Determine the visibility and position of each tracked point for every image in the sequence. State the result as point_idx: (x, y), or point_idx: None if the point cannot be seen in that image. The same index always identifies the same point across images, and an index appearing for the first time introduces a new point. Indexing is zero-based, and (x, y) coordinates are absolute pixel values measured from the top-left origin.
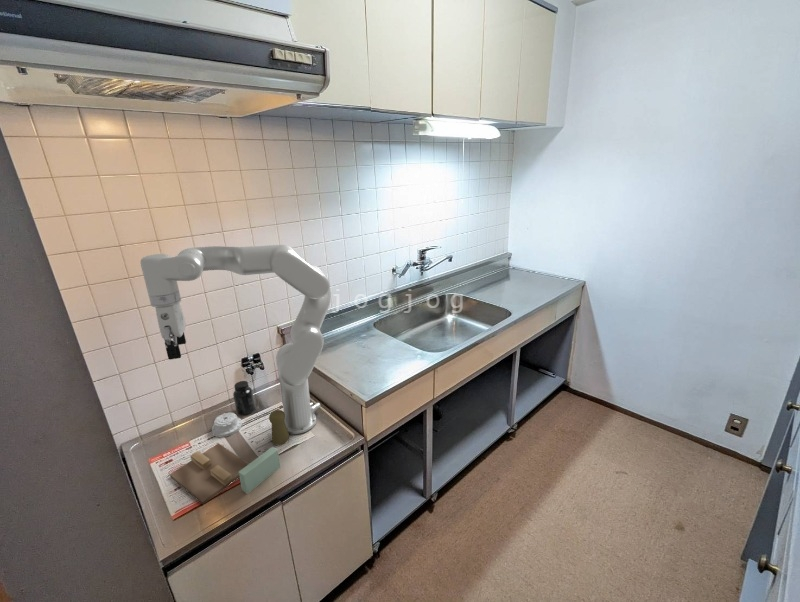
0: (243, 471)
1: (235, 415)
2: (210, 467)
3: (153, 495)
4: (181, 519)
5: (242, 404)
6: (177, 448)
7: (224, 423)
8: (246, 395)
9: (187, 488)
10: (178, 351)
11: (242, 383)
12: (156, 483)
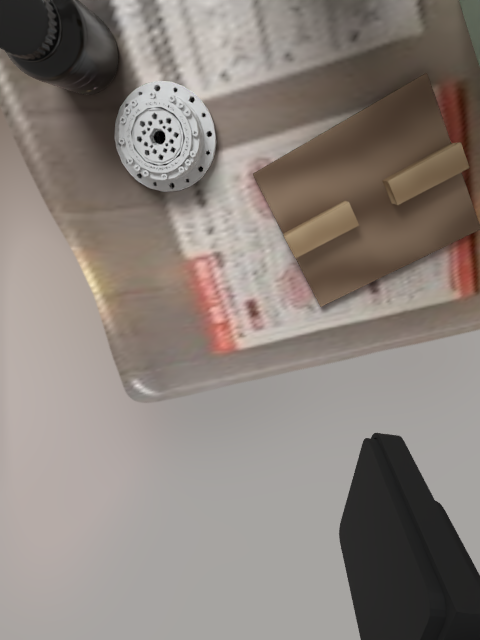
0: None
1: (153, 95)
2: (356, 203)
3: (363, 337)
4: None
5: (99, 53)
6: (206, 289)
7: (189, 143)
8: (78, 13)
9: (404, 265)
10: (434, 518)
11: (9, 6)
12: (324, 333)
